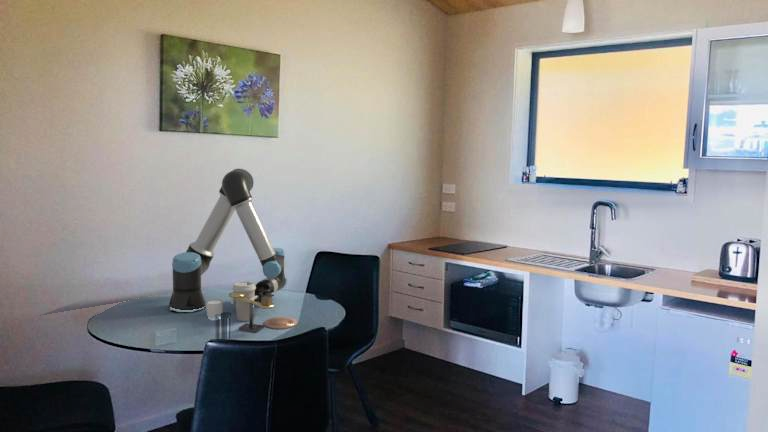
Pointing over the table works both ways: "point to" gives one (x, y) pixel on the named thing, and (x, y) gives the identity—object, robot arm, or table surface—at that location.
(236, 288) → the coffee cup
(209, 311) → the shot glass
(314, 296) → the table surface
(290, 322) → the dish
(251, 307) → the balance
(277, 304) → the table surface
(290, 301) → the table surface
